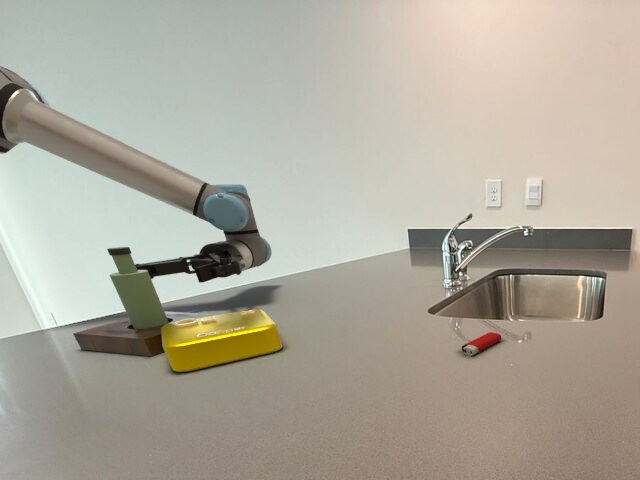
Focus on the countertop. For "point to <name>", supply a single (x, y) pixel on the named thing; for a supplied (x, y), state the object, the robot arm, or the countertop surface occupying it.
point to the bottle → (136, 291)
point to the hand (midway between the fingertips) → (161, 276)
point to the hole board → (129, 336)
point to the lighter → (480, 343)
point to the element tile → (219, 339)
